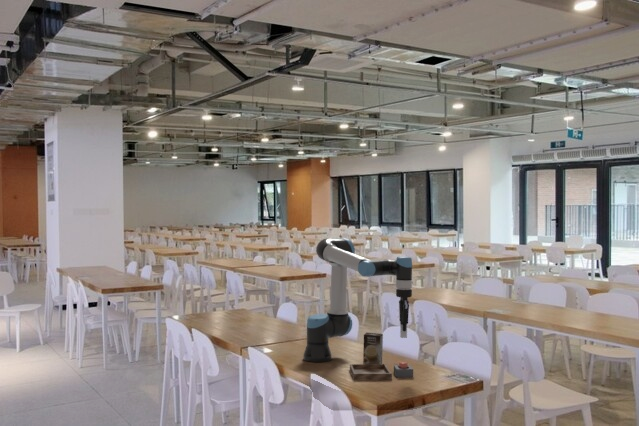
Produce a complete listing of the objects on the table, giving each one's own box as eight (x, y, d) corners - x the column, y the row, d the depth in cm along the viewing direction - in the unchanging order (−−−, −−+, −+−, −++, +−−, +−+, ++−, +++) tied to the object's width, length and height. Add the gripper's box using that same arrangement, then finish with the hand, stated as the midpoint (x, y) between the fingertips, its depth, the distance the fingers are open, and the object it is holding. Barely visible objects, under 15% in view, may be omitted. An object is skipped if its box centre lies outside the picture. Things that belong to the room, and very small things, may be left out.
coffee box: (362, 365, 303) (362, 334, 303) (365, 362, 309) (366, 332, 309) (380, 367, 300) (380, 335, 300) (382, 364, 306) (383, 333, 306)
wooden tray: (353, 380, 276) (353, 373, 276) (349, 370, 294) (349, 364, 294) (391, 379, 277) (391, 373, 277) (385, 370, 295) (385, 364, 295)
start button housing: (396, 377, 281) (396, 369, 281) (393, 373, 289) (393, 365, 289) (413, 377, 282) (413, 369, 282) (409, 373, 290) (409, 364, 290)
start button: (400, 370, 283) (400, 363, 283) (398, 368, 287) (398, 361, 287) (408, 370, 284) (408, 363, 284) (406, 368, 288) (406, 361, 288)
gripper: (414, 290, 279) (414, 340, 279) (408, 286, 293) (408, 334, 293) (399, 290, 279) (398, 340, 278) (393, 286, 292) (393, 334, 292)
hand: (403, 337), depth 286 cm, fingers closed
